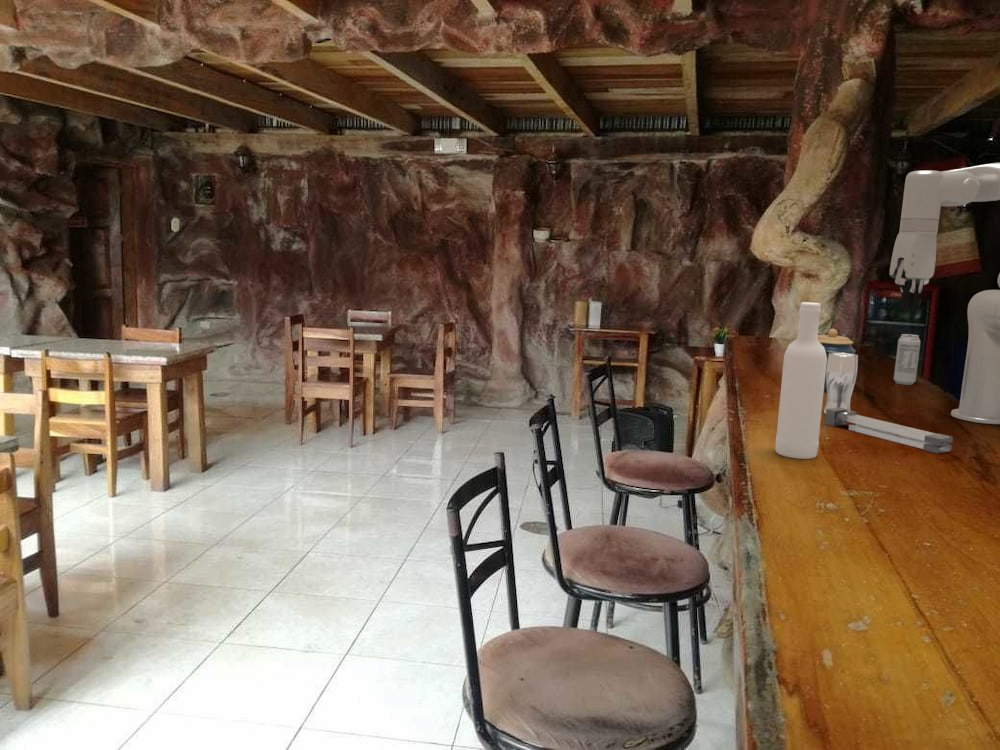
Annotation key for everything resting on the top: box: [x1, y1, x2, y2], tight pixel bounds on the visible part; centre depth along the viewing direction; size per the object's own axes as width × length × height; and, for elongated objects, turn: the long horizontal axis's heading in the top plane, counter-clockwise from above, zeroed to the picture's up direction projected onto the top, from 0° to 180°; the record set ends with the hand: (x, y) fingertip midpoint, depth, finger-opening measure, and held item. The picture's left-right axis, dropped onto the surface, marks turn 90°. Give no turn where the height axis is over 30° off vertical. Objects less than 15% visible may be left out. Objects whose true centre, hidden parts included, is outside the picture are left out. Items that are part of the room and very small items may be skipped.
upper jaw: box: [836, 410, 954, 445], centre depth 166 cm, size 24×5×2 cm, turn 29°
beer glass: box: [823, 352, 859, 415], centre depth 188 cm, size 7×7×15 cm
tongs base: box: [824, 407, 953, 454], centre depth 168 cm, size 27×5×4 cm, turn 29°
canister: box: [817, 328, 856, 393], centre depth 222 cm, size 13×13×18 cm
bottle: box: [775, 301, 827, 460], centre depth 150 cm, size 8×8×30 cm
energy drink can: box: [893, 333, 921, 386], centre depth 235 cm, size 6×6×15 cm
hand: (908, 310), depth 174 cm, fingers closed
